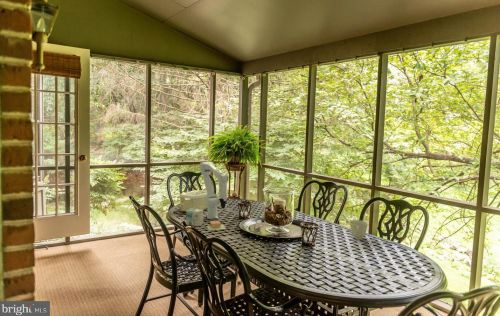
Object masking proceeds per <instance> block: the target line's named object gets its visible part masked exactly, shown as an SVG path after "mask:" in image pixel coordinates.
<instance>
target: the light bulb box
mask: <svg viewBox="0 0 500 316" xmlns="http://www.w3.org/2000/svg"><path fill="white" fill-rule="evenodd" d="M185 212H186V213H185V214H186V215H185V217H186V218H185V219H186V222H185V223H186V226H187V225H188V226H194V227H195V226H196V227H199V226H202V225H203V224H204V210H202V209H193V208H190V209H188V210H186V211H185Z"/></svg>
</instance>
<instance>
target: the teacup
mask: <svg viewBox="0 0 500 316" xmlns="http://www.w3.org/2000/svg"><path fill="white" fill-rule="evenodd" d="M348 224H349V226H350V227H349V228H350V234H351V235H352V236H353V238H354V239H356V240H362V239H363V238H364V237H365V236H366V235H367V229H368V225H369V223H368V222H367V221H365V220H358V219H353V220H349V221H348Z"/></svg>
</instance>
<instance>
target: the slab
mask: <svg viewBox="0 0 500 316" xmlns="http://www.w3.org/2000/svg"><path fill="white" fill-rule="evenodd" d="M209 223H210V224H209V226H211V227H212V228H220V227H221V225H222V223H221V222H220V220H212V221H211V220H210V221H209Z"/></svg>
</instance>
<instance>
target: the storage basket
mask: <svg viewBox="0 0 500 316" xmlns="http://www.w3.org/2000/svg"><path fill="white" fill-rule="evenodd" d="M206 196H207V191H206V190H203V189H202V190H201V189H197V190H196V189H195V190H191V191H187V192H182V193H179V201H180V210H181V211H183V212H186V210H188V209H190V208H193V209H202V210H203V211H204V210H207V208H208V206H206V204H205V197H206Z"/></svg>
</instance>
